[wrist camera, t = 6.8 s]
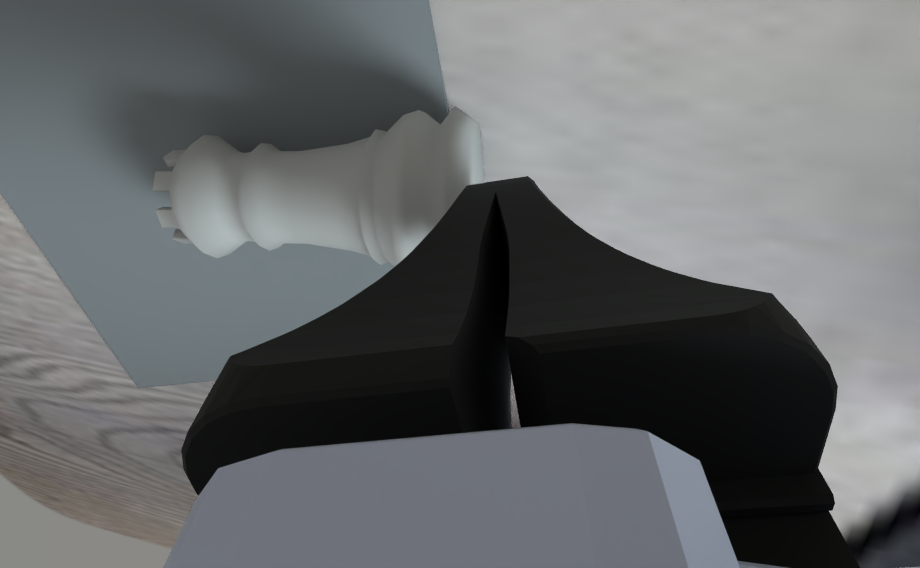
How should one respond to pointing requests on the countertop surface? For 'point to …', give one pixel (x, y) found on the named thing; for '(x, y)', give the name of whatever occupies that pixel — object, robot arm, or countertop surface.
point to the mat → (175, 128)
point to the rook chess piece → (324, 189)
